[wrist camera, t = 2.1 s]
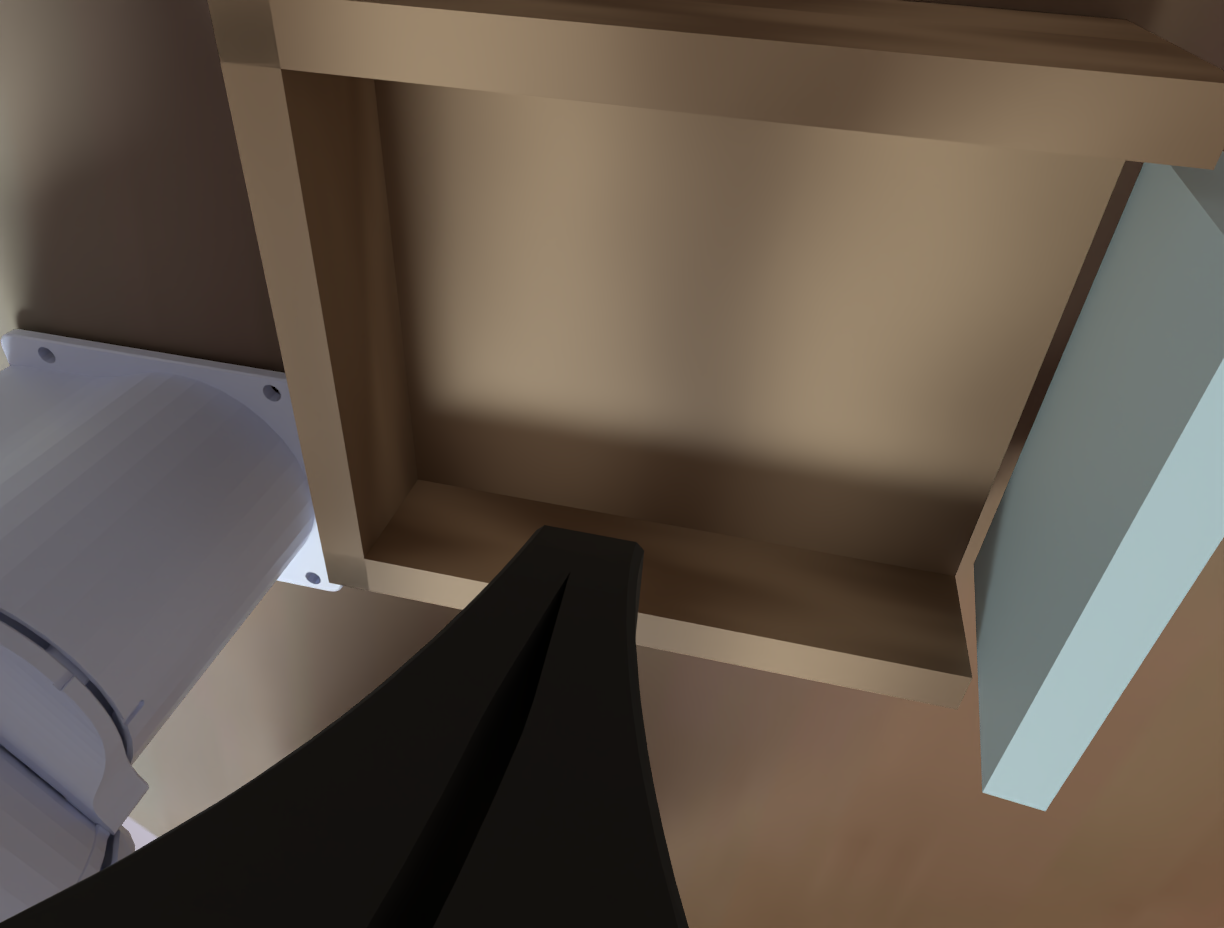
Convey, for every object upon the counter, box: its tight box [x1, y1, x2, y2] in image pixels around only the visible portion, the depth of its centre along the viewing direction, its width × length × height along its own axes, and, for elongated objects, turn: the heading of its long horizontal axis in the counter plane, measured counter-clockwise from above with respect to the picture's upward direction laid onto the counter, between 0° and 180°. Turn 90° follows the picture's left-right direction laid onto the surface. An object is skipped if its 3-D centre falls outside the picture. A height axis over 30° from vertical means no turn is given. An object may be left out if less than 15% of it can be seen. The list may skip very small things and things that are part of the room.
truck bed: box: [207, 0, 1224, 709], centre depth 17 cm, size 14×12×6 cm
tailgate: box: [974, 151, 1224, 811], centre depth 14 cm, size 1×9×6 cm, turn 177°
